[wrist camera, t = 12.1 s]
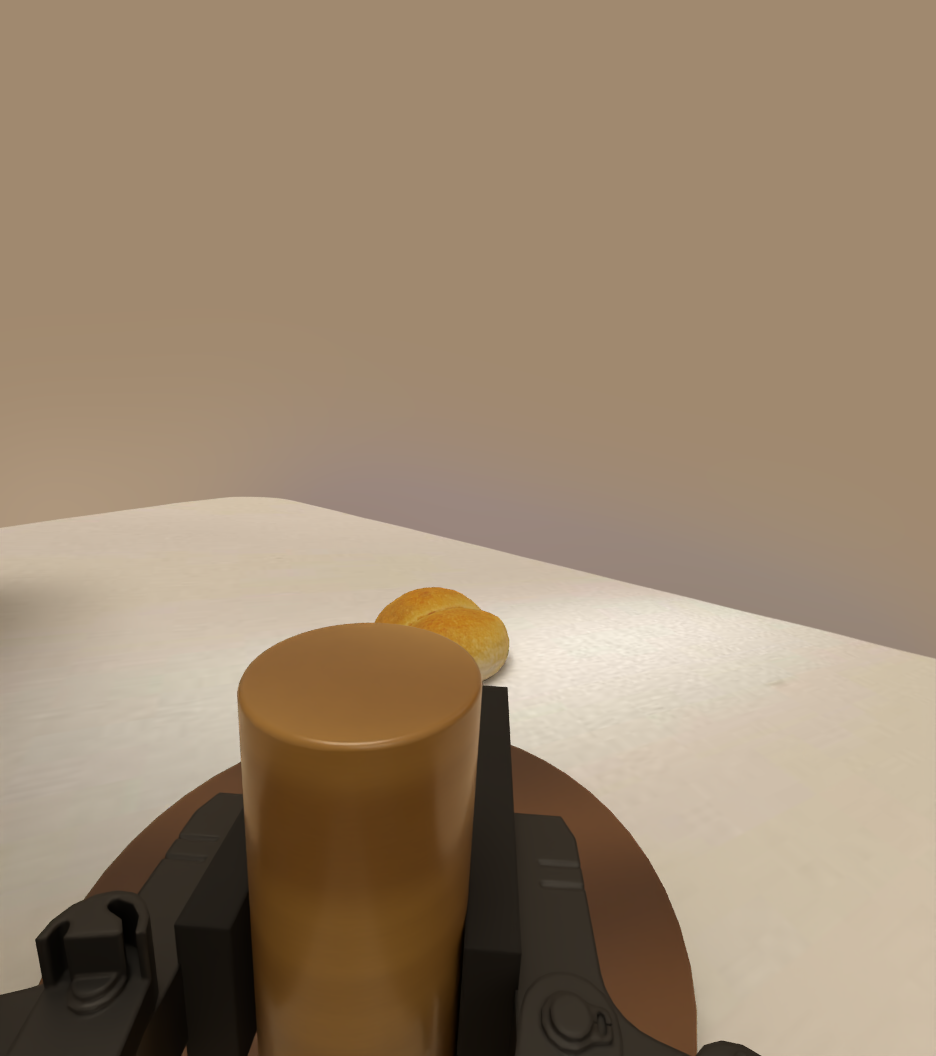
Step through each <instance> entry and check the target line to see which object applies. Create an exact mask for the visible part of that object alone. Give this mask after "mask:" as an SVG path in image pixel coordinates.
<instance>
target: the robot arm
mask: <svg viewBox="0 0 936 1056" xmlns="http://www.w3.org/2000/svg"><path fill="white" fill-rule="evenodd" d="M580 864H581V863H580V858H579V853H578V847H577V842H576V838H575V836H574V835H573V833H572V832H571V830H570V829H569V827H568V826H567V824H566V823H565V821H564V820H563V818H562V817H561V816H550V815H537V814H524V813H514V800H513V781H512V763H511V744H510V725H509V707H508V688H507V687H496V686H482V699H481V714H480V729H479V744H478V758H477V773H476V788H475V803H474V817H473V832H472V847H471V862H470V876H469V891H468V904H467V911H466V919H465V934H464V949H463V964H462V979H461V994H460V1009H459V1024H458V1039H457V1053H456V1056H691V1055H689V1054H686V1053H684V1052H682V1051H680V1050H678V1049H675V1048H673V1047H671V1046H669V1045H667V1044H664V1043H662V1042H660V1041H658V1040H656V1039H654V1038H652V1037H650V1036H649V1035H647V1034H645V1033H644V1032H642V1031H640V1030H639V1029H638V1028H637V1027H635V1026H634V1025H633V1024H632V1023H631V1022H630V1021H628V1020H627V1019H626V1018H625V1017H624V1015H623V1014H622V1013H621V1012H620V1010H619V1009H618V1008H617V1007H616V1005H615V1004H614V1003H613V1001H612V999H611V997H610V995H609V993H608V992H607V990H606V988H605V984H604V981H603V978H602V975H601V970H600V965H599V959H598V954H597V949H596V943H595V938H594V933H593V927H592V922H591V917H590V911H589V906H588V901H587V895H586V890H585V889H584V879H583V874H582V869H581V867H580ZM35 941H36V947H37V952H38V957H39V963H40V968H41V973H42V979H43V984H40V985H37V986H34V987H31V988H28V989H24V990H20V991H15V992H11V993H7V994H3V995H0V1056H181V1055H182V1053H183V1051H184V1049H185V1047H187V1056H248V1053H249V1051H250V1048H251V1045H252V1042H253V1040H254V1037H255V1034H256V1031H257V1024H256V1007H255V990H254V973H253V956H252V939H251V922H250V905H249V888H248V871H247V854H246V837H245V820H244V803H243V794H235V793H222V792H219V793H218V794H216V795H215V796H214V797H213V798H211V799H210V800H209V801H208V802H206V803H205V804H204V805H202V806H201V807H200V808H199V809H197V810H196V811H195V812H194V814H193V815H192V816H191V818H190V819H189V821H188V822H187V824H186V825H185V827H184V828H183V829H182V831H181V832H180V834H179V837H178V839H175V841H174V842H173V844H172V845H171V847H170V848H169V849H168V851H167V852H166V854H165V858H164V859H162V860H161V861H160V862H159V864H158V865H157V867H156V868H155V870H154V871H153V872H152V874H151V875H150V877H149V878H148V880H147V881H146V882H145V884H144V885H143V887H142V888H141V890H140V891H139V893H138V894H136V893H134V892H127V891H119V890H115V891H110V892H105V893H100V894H95V895H93V896H91V897H89V898H87V899H84V900H82V901H80V902H78V903H76V904H74V905H72V906H71V907H69V908H68V909H66V910H65V911H64V912H62V913H61V914H60V915H58V916H57V917H56V918H54V919H53V920H52V921H51V922H50V923H49V924H48V925H47V926H46V928H45V929H44V930H43V931H42V932H41V933H40V934H39V936H38V937H37V938H36V939H35ZM696 1056H761V1055H759V1054H757V1053H756V1052H754V1051H752V1050H751V1049H749V1048H747V1047H745V1046H744V1045H740V1044H736V1043H731V1042H726V1041H718V1042H714V1043H711V1044H707V1045H704V1046H703V1047H702V1048H701V1050H700V1051H699V1052H698V1053H697V1054H696Z"/></svg>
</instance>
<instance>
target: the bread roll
mask: <svg viewBox="0 0 936 1056" xmlns="http://www.w3.org/2000/svg"><path fill="white" fill-rule="evenodd" d="M375 623H388V624H398V625H405V626H411V627H416V628H420V629H424V630H427V631H431V632H434V633H437V634H439V635H442V636H444V637H446V638H448V639H450V640H452V641H454V642H455V643H457V644H458V645H460V646H462V647H463V648H464V649H465V650H466V651H467V652H469V654H470V655H471V656H472V657H473V658H474V660H475V661H476V663H477V665H478V667H479V670H480V673H481V676H482V681H483V680H485V679H487V678H489V677H491V676H493V675H494V674H495V673H497V672H498V671H499V670H500V668H501V667H502V666H503V664H504V663H505V661H506V659H507V656H508V652H509V638H508V634H507V630H506V628H505V626H504V624H503V622H502V621H501V620H500V619H499V618H498V617H497V616H495V615H493V614H491V613H488V612H486V611H482V610H481V609H480V608H479V607H478V606H477V605H476V604H475V603H474V602H473V601H472V600H470V599H469V598H467V597H466V596H464V595H463V594H461V593H459V592H457V591H454V590H450V589H445V588H440V587H432V588H422V589H417V590H414V591H410V592H408V593H406V594H404V595H402V596H401V597H399V598H397V599H396V600H394V601H393V602H392V603H390V604H389V605H387V606H386V607H385V608H384V609H383V611H382V612H381V613H380V614H379V616H378V617H377V619H376V621H375Z"/></svg>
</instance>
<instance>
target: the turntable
mask: <svg viewBox="0 0 936 1056" xmlns="http://www.w3.org/2000/svg"><path fill="white" fill-rule="evenodd" d="M481 699H482V676H481V673H480V670H479V667H478V665H477V663H476V661H475V660H474V658H473V657H472V656H471V655H470V654H469V652H467V651H466V650H465V649H464V648H463V647H462V646H460V645H458V644H457V643H455V642H454V641H452V640H450V639H448V638H446V637H444V636H442V635H439V634H437V633H434V632H431V631H427V630H424V629H420V628H416V627H411V626H405V625H398V624H388V623H354V624H344V625H336V626H330V627H324V628H320V629H316V630H311V631H308V632H305V633H302V634H298V635H296V636H293V637H291V638H288V639H286V640H284V641H282V642H280V643H277V644H276V645H274V646H272V647H271V648H269V649H267V650H266V651H264V652H263V653H262V654H260V655H259V656H258V657H257V658H256V659H255V660H254V661H253V662H252V663H251V664H250V665H249V666H248V668H247V669H246V670H245V672H244V674H243V676H242V678H241V680H240V683H239V686H238V691H237V700H238V717H239V734H240V752H241V762H240V763H238V764H236V765H234V766H232V767H231V768H229V769H227V770H225V771H223V772H221V773H220V774H218V775H216V776H214V777H212V778H211V779H209V780H208V781H206V782H205V783H203V784H202V785H200V786H199V787H197V788H196V789H194V790H193V791H191V792H190V793H188V794H187V795H185V796H184V797H183V798H181V799H180V800H179V801H177V802H176V803H175V804H174V805H172V806H171V807H170V808H169V809H167V810H166V811H165V812H163V813H162V814H161V815H160V816H158V817H157V818H156V819H155V820H154V821H153V822H152V823H151V824H150V825H149V826H148V827H146V828H145V829H144V830H143V831H142V832H141V833H140V834H139V835H138V836H137V837H136V838H135V839H134V840H133V841H131V843H130V844H129V845H128V846H127V847H126V848H125V849H124V850H123V851H122V853H121V854H120V855H119V856H118V857H117V858H116V859H115V860H114V861H113V863H112V864H111V865H110V866H109V867H108V868H107V869H106V870H105V872H104V873H103V874H102V876H101V877H100V878H99V880H98V881H97V882H96V884H95V885H94V887H93V888H92V889H91V891H90V892H89V893H88V895H87V896H86V897H85V899H87V898H89V897H91V896H93V895H95V894H100V893H105V892H110V891H115V890H119V891H127V892H134V893H136V894H138V893H139V891H140V890H141V888H142V887H143V885H144V884H145V882H146V881H147V880H148V878H149V877H150V875H151V874H152V872H153V871H154V870H155V868H156V867H157V865H158V864H159V862H160V861H161V860H162V859H164V858H165V854H166V852H167V851H168V849H169V848H170V847H171V845H172V844H173V842H174V841H175V839H178V837H179V834H180V832H181V831H182V829H183V828H184V827H185V825H186V824H187V822H188V821H189V819H190V818H191V816H192V815H193V814H194V812H195V811H196V810H197V809H199V808H200V807H201V806H202V805H204V804H205V803H206V802H208V801H209V800H210V799H211V798H213V797H214V796H215V795H216V794H218V793H219V792H222V793H235V794H243V803H244V820H245V837H246V854H247V871H248V888H249V905H250V922H251V939H252V956H253V973H254V990H255V1007H256V1024H257V1031H256V1034H255V1037H254V1040H253V1042H252V1045H251V1048H250V1051H249V1053H248V1056H456V1053H457V1039H458V1024H459V1009H460V994H461V979H462V964H463V949H464V934H465V919H466V911H467V904H468V891H469V876H470V862H471V847H472V832H473V817H474V803H475V788H476V773H477V758H478V744H479V729H480V714H481ZM511 763H512V781H513V800H514V813H524V814H537V815H550V816H561V817H562V818H563V820H564V821H565V823H566V824H567V826H568V827H569V829H570V830H571V832H572V833H573V835H574V836H575V838H576V842H577V847H578V853H579V858H580V863H581V864H580V867H581V869H582V874H583V879H584V889H585V890H586V895H587V901H588V906H589V911H590V917H591V922H592V927H593V933H594V938H595V943H596V949H597V954H598V959H599V965H600V970H601V975H602V978H603V981H604V984H605V988H606V990H607V992H608V993H609V995H610V997H611V999H612V1001H613V1003H614V1004H615V1005H616V1007H617V1008H618V1009H619V1010H620V1012H621V1013H622V1014H623V1015H624V1017H625V1018H626V1019H627V1020H628V1021H630V1022H631V1023H632V1024H633V1025H634V1026H635V1027H637V1028H638V1029H639V1030H640V1031H642V1032H644V1033H645V1034H647V1035H649V1036H650V1037H652V1038H654V1039H656V1040H658V1041H660V1042H662V1043H664V1044H667V1045H669V1046H671V1047H673V1048H675V1049H678V1050H680V1051H682V1052H684V1053H686V1054H689V1055H691V1056H696V1054H697V1008H696V1001H695V994H694V987H693V979H692V972H691V966H690V962H689V958H688V954H687V951H686V947H685V943H684V939H683V936H682V932H681V928H680V925H679V923H678V920H677V918H676V915H675V913H674V910H673V908H672V905H671V903H670V900H669V898H668V895H667V893H666V890H665V888H664V887H663V885H662V883H661V881H660V879H659V877H658V876H657V874H656V872H655V870H654V868H653V866H652V865H651V863H650V861H649V859H648V858H647V857H646V855H645V854H644V852H643V851H642V849H641V848H640V847H639V845H638V844H637V842H636V841H635V839H634V838H633V837H632V835H631V834H630V833H629V831H628V830H627V829H626V828H625V827H624V826H623V825H622V823H621V822H620V821H619V820H618V819H617V818H616V817H615V815H614V814H613V813H612V812H611V811H610V810H609V809H608V808H607V807H606V806H605V805H604V804H603V803H601V802H600V801H599V800H598V799H597V798H596V797H595V796H594V795H593V794H592V793H591V792H590V791H588V790H587V789H586V788H584V787H583V786H582V785H580V784H579V783H578V782H576V781H575V780H574V779H572V778H571V777H570V776H569V775H567V774H566V773H564V772H562V771H561V770H559V769H557V768H556V767H554V766H553V765H551V764H549V763H548V762H546V761H544V760H542V759H540V758H538V757H536V756H534V755H532V754H530V753H528V752H526V751H524V750H522V749H520V748H517V747H515V746H512V745H511ZM40 984H43V979H42V978H41V981H40V983H39V985H40ZM181 1056H187V1047H185V1049H184V1051H183V1053H182V1055H181Z"/></svg>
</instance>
